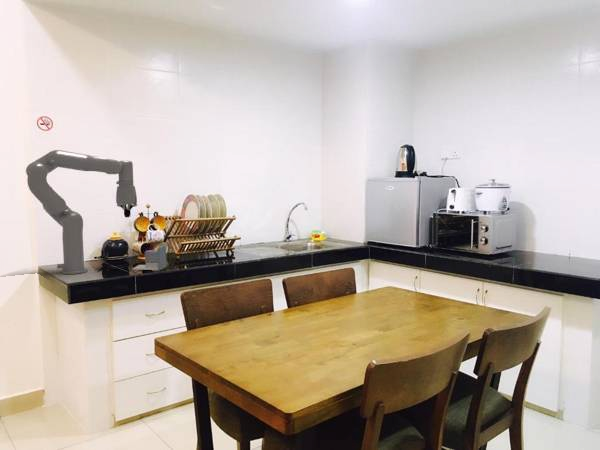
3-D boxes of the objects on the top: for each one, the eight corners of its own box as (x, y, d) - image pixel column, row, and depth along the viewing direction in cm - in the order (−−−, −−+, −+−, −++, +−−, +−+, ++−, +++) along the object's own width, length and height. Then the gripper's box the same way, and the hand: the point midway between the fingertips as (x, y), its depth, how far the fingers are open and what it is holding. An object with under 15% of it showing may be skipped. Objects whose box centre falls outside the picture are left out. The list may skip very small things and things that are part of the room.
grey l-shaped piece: (132, 270, 262) (131, 247, 261) (139, 266, 273) (138, 244, 271) (160, 270, 261) (159, 248, 260) (166, 266, 272) (166, 245, 271)
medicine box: (162, 266, 269) (161, 250, 268) (159, 267, 264) (159, 251, 263) (148, 266, 269) (147, 250, 268) (145, 267, 265) (144, 251, 264)
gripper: (109, 183, 267) (111, 217, 269) (137, 183, 266) (138, 217, 268) (115, 183, 274) (116, 216, 276) (142, 183, 274) (143, 216, 276)
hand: (127, 217), depth 272 cm, fingers closed
